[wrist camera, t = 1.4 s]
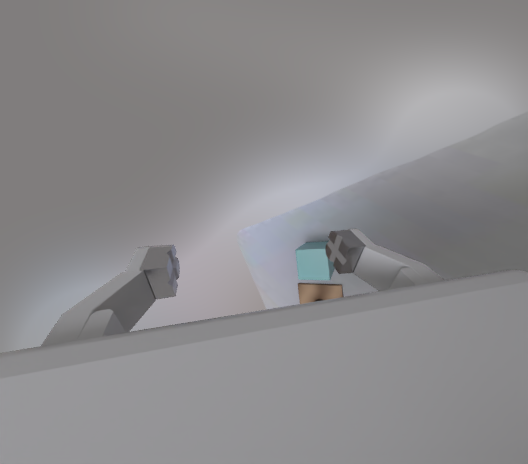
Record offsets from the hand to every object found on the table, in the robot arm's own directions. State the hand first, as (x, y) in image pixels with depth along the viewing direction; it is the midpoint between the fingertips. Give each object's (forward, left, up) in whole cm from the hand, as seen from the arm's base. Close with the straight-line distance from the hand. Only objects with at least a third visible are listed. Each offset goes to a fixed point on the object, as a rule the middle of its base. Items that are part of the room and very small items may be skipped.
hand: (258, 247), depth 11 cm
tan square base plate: (+12, +18, -37) cm, 43 cm away
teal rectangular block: (+7, +7, -37) cm, 39 cm away
